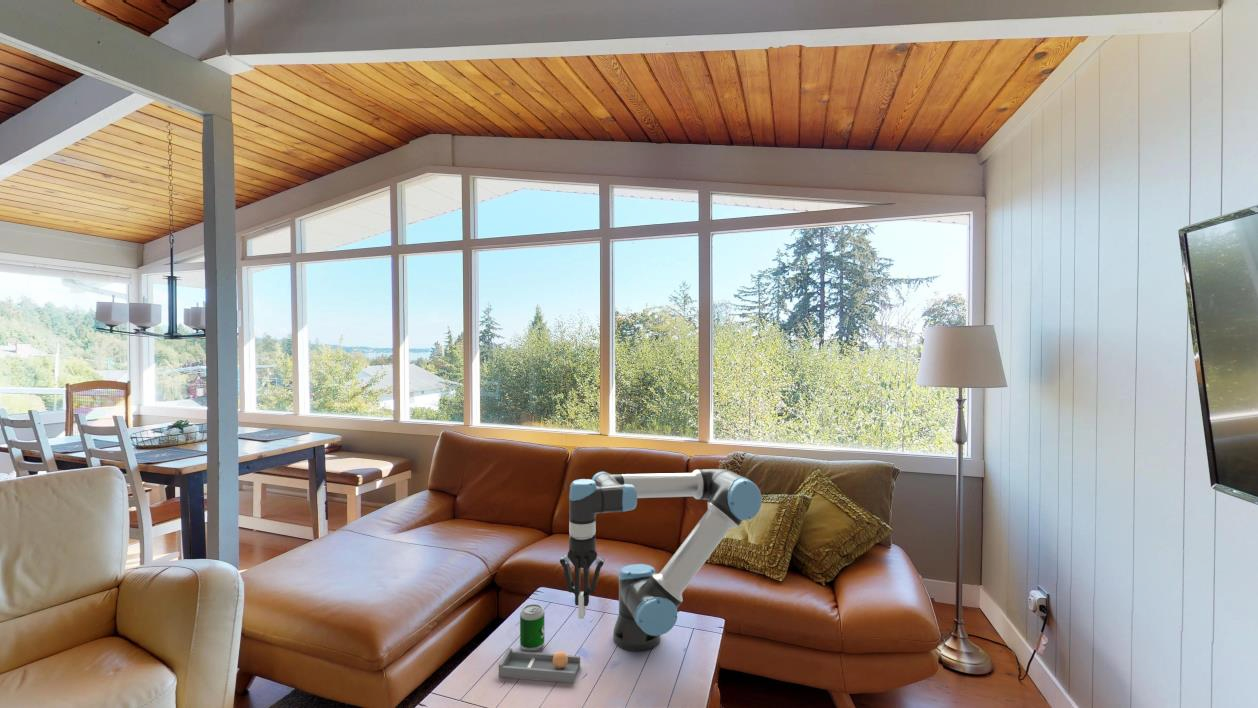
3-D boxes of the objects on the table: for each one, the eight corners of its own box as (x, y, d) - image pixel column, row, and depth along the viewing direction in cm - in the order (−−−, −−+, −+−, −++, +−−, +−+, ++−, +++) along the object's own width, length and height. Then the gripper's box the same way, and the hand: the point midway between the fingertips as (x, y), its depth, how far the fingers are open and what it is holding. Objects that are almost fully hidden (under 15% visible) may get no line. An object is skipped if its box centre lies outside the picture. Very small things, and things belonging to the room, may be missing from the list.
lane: (580, 665, 160) (580, 653, 160) (574, 683, 152) (574, 670, 152) (508, 659, 163) (508, 648, 162) (498, 676, 154) (498, 664, 154)
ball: (569, 663, 158) (569, 648, 158) (565, 672, 154) (565, 657, 154) (554, 662, 159) (554, 647, 159) (550, 671, 154) (550, 656, 154)
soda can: (539, 654, 165) (539, 616, 165) (516, 651, 167) (516, 613, 166) (547, 641, 173) (547, 604, 172) (525, 638, 174) (525, 601, 174)
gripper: (607, 531, 157) (606, 611, 158) (563, 529, 159) (562, 608, 160) (602, 541, 150) (602, 624, 151) (556, 538, 151) (556, 621, 152)
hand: (581, 616), depth 155 cm, fingers closed
